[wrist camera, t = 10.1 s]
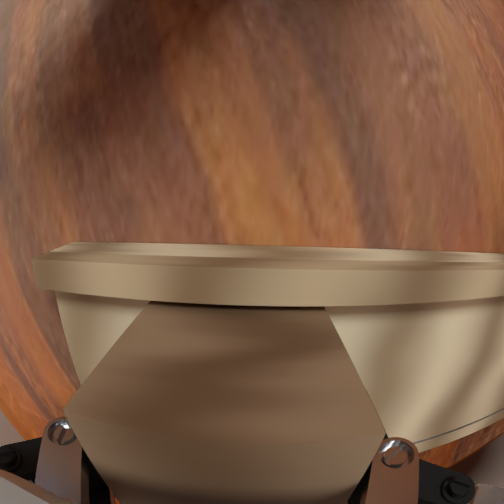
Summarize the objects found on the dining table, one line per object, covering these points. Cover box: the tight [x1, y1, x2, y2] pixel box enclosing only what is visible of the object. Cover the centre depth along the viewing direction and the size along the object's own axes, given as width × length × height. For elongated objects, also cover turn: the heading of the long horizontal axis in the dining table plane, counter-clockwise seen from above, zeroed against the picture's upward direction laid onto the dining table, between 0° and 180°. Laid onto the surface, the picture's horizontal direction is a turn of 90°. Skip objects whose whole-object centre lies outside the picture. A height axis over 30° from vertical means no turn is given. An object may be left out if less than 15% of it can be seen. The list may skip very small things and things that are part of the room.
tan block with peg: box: [63, 301, 386, 504], centre depth 8 cm, size 6×11×6 cm, turn 179°
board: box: [32, 242, 504, 453], centre depth 11 cm, size 30×13×3 cm, turn 89°
